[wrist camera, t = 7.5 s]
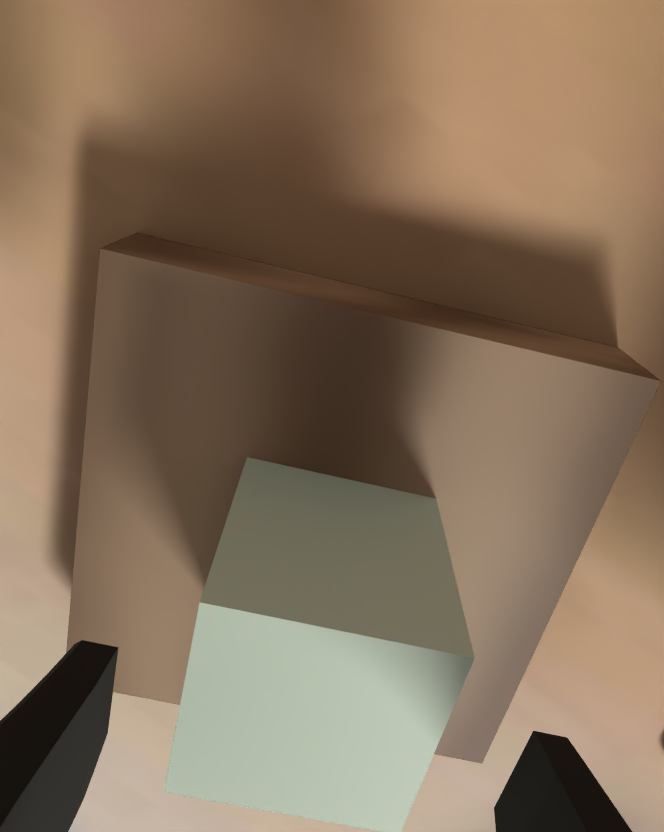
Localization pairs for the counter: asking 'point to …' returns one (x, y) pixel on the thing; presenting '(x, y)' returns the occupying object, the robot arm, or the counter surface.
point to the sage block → (321, 652)
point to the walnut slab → (333, 448)
